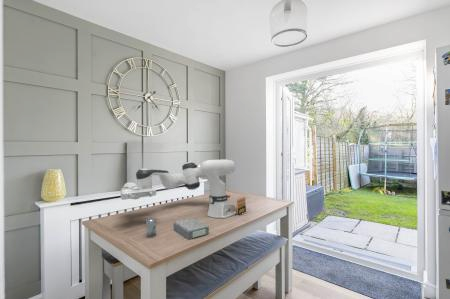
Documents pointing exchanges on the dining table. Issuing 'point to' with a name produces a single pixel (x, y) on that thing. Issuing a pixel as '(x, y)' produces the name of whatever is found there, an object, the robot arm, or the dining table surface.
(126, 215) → the dining table surface
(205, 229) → the kitchen scale
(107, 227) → the dining table surface
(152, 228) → the cylinder
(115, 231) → the dining table surface
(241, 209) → the ammunition clip
